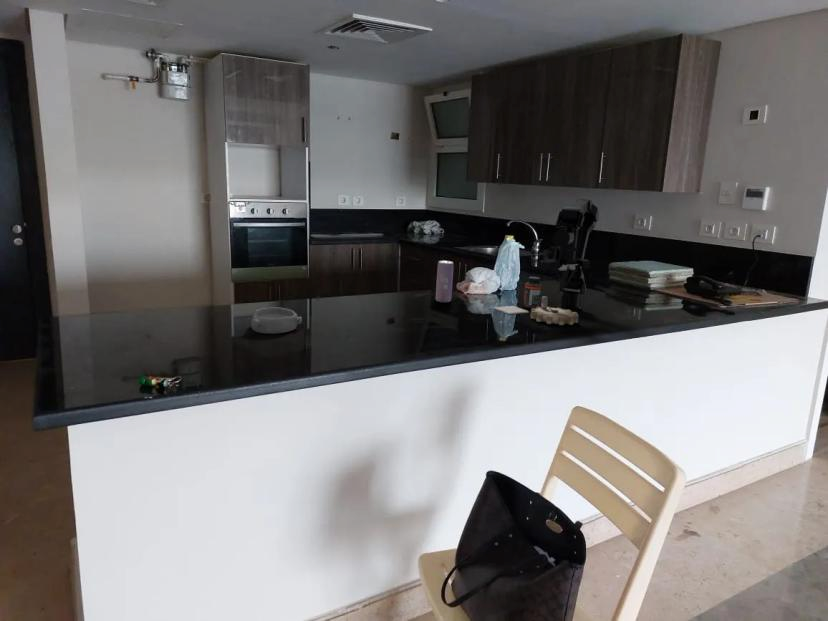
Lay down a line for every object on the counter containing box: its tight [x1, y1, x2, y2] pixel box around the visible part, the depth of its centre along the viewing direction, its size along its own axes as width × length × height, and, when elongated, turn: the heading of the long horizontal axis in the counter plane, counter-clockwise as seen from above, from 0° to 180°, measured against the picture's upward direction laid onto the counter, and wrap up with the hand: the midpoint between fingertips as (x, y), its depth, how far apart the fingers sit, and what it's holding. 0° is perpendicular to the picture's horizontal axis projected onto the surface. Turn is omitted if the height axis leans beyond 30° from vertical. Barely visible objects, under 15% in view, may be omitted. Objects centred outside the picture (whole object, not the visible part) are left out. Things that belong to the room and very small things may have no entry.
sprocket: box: [530, 295, 579, 326], centre depth 196 cm, size 16×16×7 cm
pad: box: [493, 305, 529, 315], centre depth 208 cm, size 9×9×1 cm
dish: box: [250, 306, 303, 334], centre depth 168 cm, size 14×14×5 cm
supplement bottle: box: [523, 276, 542, 309], centre depth 215 cm, size 6×6×11 cm
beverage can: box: [435, 260, 454, 303], centre depth 216 cm, size 6×6×15 cm
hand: (562, 288), depth 202 cm, fingers closed
